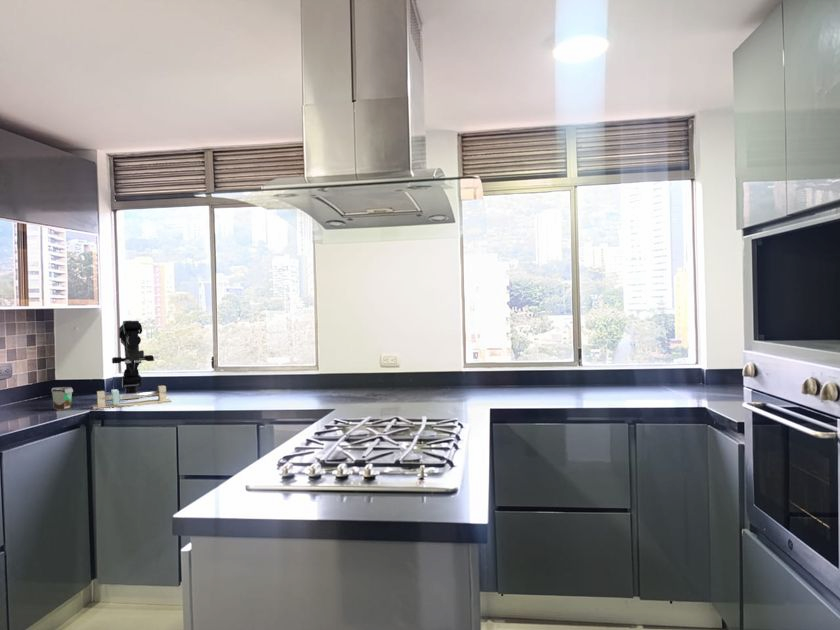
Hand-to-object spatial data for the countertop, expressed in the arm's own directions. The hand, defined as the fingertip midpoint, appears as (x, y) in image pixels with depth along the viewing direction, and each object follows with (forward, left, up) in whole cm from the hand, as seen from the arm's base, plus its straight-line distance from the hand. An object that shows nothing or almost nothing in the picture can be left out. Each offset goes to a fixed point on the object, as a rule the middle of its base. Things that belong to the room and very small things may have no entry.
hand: (133, 376), depth 296 cm
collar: (+9, -9, -12) cm, 17 cm away
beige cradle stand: (+11, -2, -13) cm, 17 cm away
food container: (0, -30, -13) cm, 33 cm away
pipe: (+11, -2, -10) cm, 15 cm away
